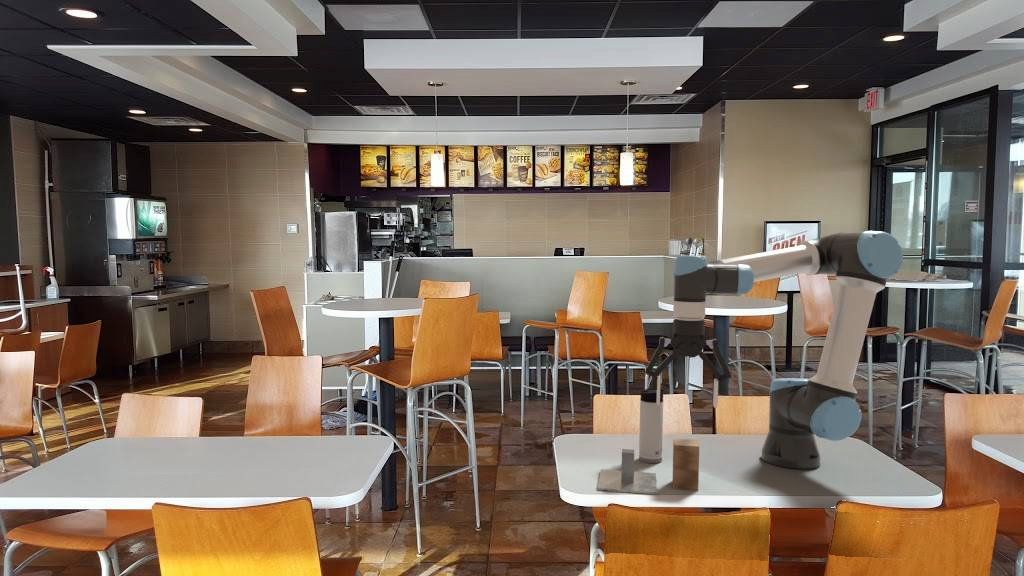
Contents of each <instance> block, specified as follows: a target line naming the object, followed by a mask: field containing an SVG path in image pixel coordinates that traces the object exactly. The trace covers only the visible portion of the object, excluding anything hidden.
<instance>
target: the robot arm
mask: <svg viewBox="0 0 1024 576" xmlns="http://www.w3.org/2000/svg"><path fill="white" fill-rule="evenodd" d="M903 261H904V253H903V249H902V246H901V245H900V243H899V241H898V240H897V239H896V237H894V236H893V235H892V234H891V233H888V232H885V231H877V230H864V231H843V232H837V233H833V234H829V235H825V236H822V237H817V238H813V239H808V240H803V241H801V242H800V243H799V245H795V246H791V247H785V248H780V249H773V250H767V251H761V252H757V253H751V254H746V255H745V254H744V255H740V256H734V257H729V258H723V259H718V260H712V261H711V260H710V261H708V258H707V257H706V256H705V255H679V256H677V257H675V262H674V271H673V279H674V280H673V313H672V315H673V317H674V319H673V321H672V337H671V338H667V337H666V338H665V337H664V336H661V337H659V340H658V341H659V342H658V346H657V348H656V350H655V352H654V353H653V355H652V357H651V359H650V360H649V363H648V364H647V366H646V368H645V370H644V371H645V374H646V375H648V376H651V378H652V381H651V382H652V383H651V384H652V387H651V389H653V390H657V404H659V405H660V389H661V376H660V374H661V373H662V372H663V371H664V370H665V369H666V368H667V367H668V366H669V365H670V364H671V363H672V362H673V360H675V359H676V358H677V357H678V356H680V357H681V358H686V357H687V358H688V357H690V358H696V357H697V356H698V357H699V358H700V360H702V361H703V363H704V364H705V365H706V366H707V368H708V369H709V371H711V372H712V374H713V375H714V376H715V377H716V378H714V379H713V394H712V395H713V398H712V399H713V400H712V405H713V408H714V409H718V406H719V405H718V403H719V400H718V399H719V394H723V393H724V392H723V391H724V390H723V389H724V381H725V380H727V379H730V378H732V374H731V372H730V371H729V368H728V365H727V364H726V362H725V360H724V357H723V355H722V354H721V352H720V349H719V341H718V340H717V339H716V338H712V339H708V340H707V339H706V338H705V332H706V331H705V329H706V328H705V327H706V321H705V320H704V319H705V317H706V301H707V300H706V297H707V295H730V296H731V295H735V296H738V295H747V294H748V293H750V292H751V291H752V289H753V288H754V283H757V282H762V281H767V280H773V279H778V278H784V277H789V276H794V275H796V276H797V275H799V274H805V275H807V276H815V275H835V276H834V277H835V280H836V281H837V283H838V284H839V288H838V291H837V292H838V293H837V296H836V299H835V303H834V307H833V311H832V314H831V319H830V321H829V324H828V325H829V326H828V330H827V333H826V337H825V340H824V344H823V348H822V353H821V355H820V356H821V357H820V360H819V364H818V368H817V372H816V374H815V375H813V376H812V377H810V378H804V377H803V378H801V377H800V378H799V377H784V378H783V377H782V378H781V377H780V378H775V379H772V380H771V382H770V386H769V392H768V394H769V415H768V416H769V419H768V422H769V423H768V431H767V435H766V437H765V440H764V442H763V445H762V447H761V459H762V461H765V462H766V463H768V464H771V465H774V466H776V467H777V466H778V467H782V468H788V469H797V470H800V469H801V470H806V469H807V470H808V469H816V468H819V467H820V466H821V454H820V450H819V448H818V444H817V440H816V437H817V438H820V439H824V440H829V441H833V442H838V441H842V440H843V441H844V440H846V439H847V438H849V437H851V436H852V435H853V434H855V432H857V430H858V429H859V427H860V425H861V422H862V416H863V415H862V409H861V408H860V405H859V403H857V402H856V398H857V394H858V391H857V390H856V388H855V387H854V379H855V377H856V373H857V368H858V364H859V361H860V358H861V353H862V350H863V349H862V348H863V346H864V341H865V337H866V334H867V330H868V327H869V322H870V318H871V315H872V312H873V308H874V303H875V300H876V297H877V293H879V292H880V291H882V290H884V289H886V285H887V282H888V279H889V278H891V277H893V276H895V275H896V274H898V273H899V271H900V270H901V269H902V266H903V263H904V262H903ZM669 344H670V345H671V347H673V350H671V352H670V353H669V354H668V356H666V357H665V358H664V360H663V361H661V363H659V365H658V366H657V367H656V368H655V369H654V367H655V365H656V363H657V362H658V359H659V357H660V356H661V354H662V352H663V351H664V348H666V347H668V345H669ZM706 346H708V347H709V349H712V351H713V353H714V355H715V357H716V359H717V362H718V363H719V366H720V369H721V370H722V372H723V373H720V371H719V370H718V368H717V367H716V366H715V365H714V364H713V363H712V362H711V360H710V359H709V358H708V357H707V355H706V354H705V353H704V352H703V350H704V349H705V347H706ZM653 369H654V370H653ZM815 436H816V437H815Z"/></svg>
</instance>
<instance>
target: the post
mask: <svg viewBox="0 0 1024 576" xmlns="http://www.w3.org/2000/svg"><path fill="white" fill-rule="evenodd" d="M596 490H597V491H602V490H609V491H608V492H615V491H620V492H619V493H628V492H631V493H632V494H644V495H658V490H657V473H655V472H645V471H644V472H643V471H641V472H640V471H635V449H631V448H630V449H628V448H622V449H621V470H616V469H615V470H614V469H604V468H601V469H600V473H599V478H598V484H597V489H596ZM631 493H630V494H631Z"/></svg>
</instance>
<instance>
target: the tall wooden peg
mask: <svg viewBox="0 0 1024 576" xmlns="http://www.w3.org/2000/svg"><path fill="white" fill-rule="evenodd" d="M672 441H673V444H672V445H673V449H672V451H673V452H672V487H673V489H674V490H687V491H699V477H700V476H699V474H700V473H699V471H700V444H699V440H698V439H689V438H688V439H687V438H673V440H672Z"/></svg>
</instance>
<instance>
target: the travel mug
mask: <svg viewBox="0 0 1024 576" xmlns="http://www.w3.org/2000/svg"><path fill="white" fill-rule="evenodd" d="M665 392H666V389H665V388H661V387H660V405H659V404H657V390H653V389H652V388H646V389H642V390H641V391H640V398H639V399H640V400H639V439H638V440H639V444H638V445H639V446H638V447H639V448H638V459H639V461H640V462H643V463H647V464H660V463H661V462H662V461H663V440H664V439H663V437H664V435H663V434H664V433H663V432H664V393H665Z"/></svg>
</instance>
